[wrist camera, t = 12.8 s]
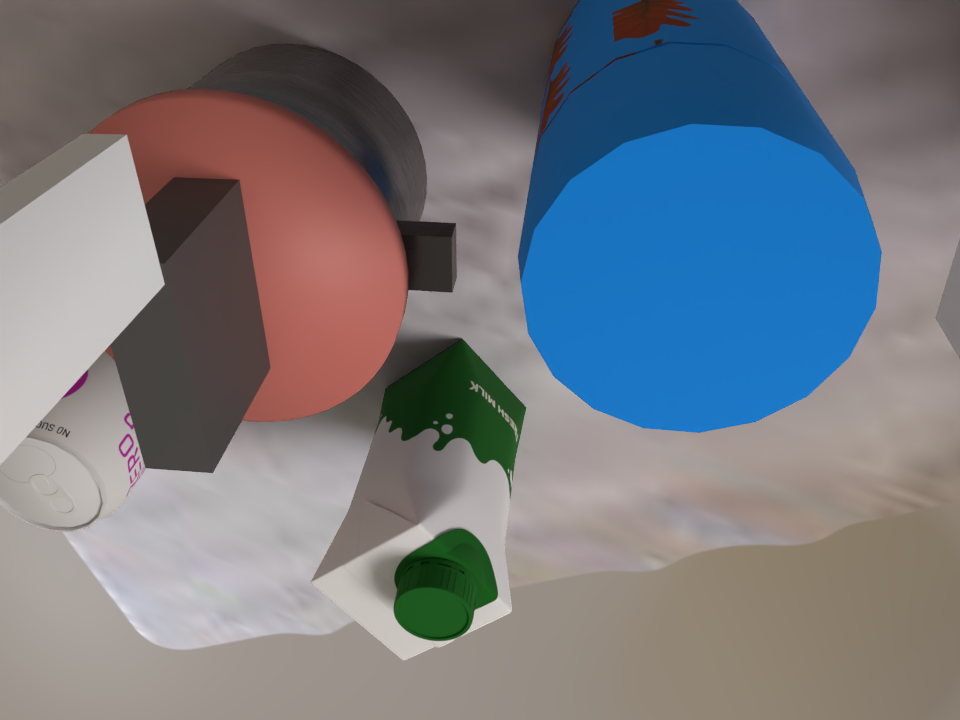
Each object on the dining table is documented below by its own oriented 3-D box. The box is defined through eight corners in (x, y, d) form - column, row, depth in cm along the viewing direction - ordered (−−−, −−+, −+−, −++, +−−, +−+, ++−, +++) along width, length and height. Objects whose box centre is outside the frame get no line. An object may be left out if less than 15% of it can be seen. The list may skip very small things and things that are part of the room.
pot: (477, 44, 47) (445, 115, 37) (476, 296, 56) (450, 408, 46) (106, 31, 49) (-19, 96, 39) (161, 277, 57) (70, 380, 48)
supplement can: (74, 312, 60) (-63, 451, 47) (169, 275, 57) (51, 411, 45) (143, 402, 64) (33, 552, 51) (235, 370, 61) (143, 520, 49)
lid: (398, 94, 37) (345, 179, 29) (416, 414, 46) (379, 544, 38) (19, 82, 38) (-130, 161, 30) (111, 394, 48) (16, 515, 40)
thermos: (519, 118, 49) (463, 364, 28) (602, -78, 43) (608, 51, 22) (692, 191, 50) (761, 478, 29) (796, 10, 44) (972, 210, 24)
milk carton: (544, 409, 60) (525, 648, 43) (446, 465, 64) (394, 705, 47) (464, 321, 57) (409, 542, 40) (365, 385, 61) (278, 612, 44)
